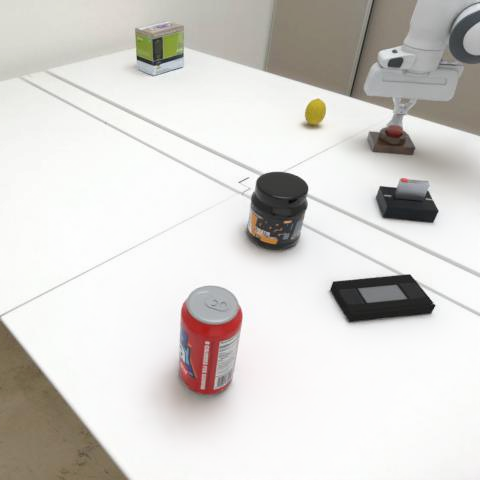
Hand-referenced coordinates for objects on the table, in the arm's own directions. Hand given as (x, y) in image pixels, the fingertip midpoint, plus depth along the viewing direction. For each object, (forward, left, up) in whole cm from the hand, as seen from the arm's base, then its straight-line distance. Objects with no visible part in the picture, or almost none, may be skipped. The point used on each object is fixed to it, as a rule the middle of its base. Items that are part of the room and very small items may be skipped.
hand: (399, 114), depth 115 cm
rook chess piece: (-3, -10, -9) cm, 14 cm away
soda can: (+41, +79, -9) cm, 89 cm away
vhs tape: (+13, +59, -9) cm, 62 cm away
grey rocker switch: (+3, +30, -6) cm, 31 cm away
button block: (0, 0, -9) cm, 9 cm away
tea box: (+71, -51, -9) cm, 88 cm away
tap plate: (+3, +30, -9) cm, 31 cm away
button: (0, 0, -6) cm, 6 cm away
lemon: (+19, -10, -9) cm, 23 cm away
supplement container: (+31, +44, -9) cm, 54 cm away
